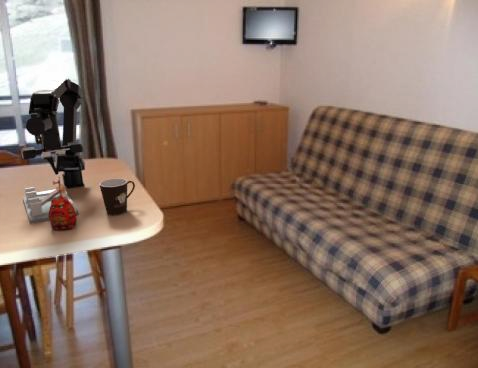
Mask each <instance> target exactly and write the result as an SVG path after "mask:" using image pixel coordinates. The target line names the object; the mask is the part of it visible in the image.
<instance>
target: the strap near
mask: <svg viewBox="0 0 478 368" xmlns="http://www.w3.org/2000/svg"><path fill="white" fill-rule="evenodd" d="M60 184H61V189H62V191H64V190H66V189H67V188H66V186H64V184H63V183H60ZM55 189H56V190H55ZM55 189H53V190H54V191H53V192H52V193H50V194H49V195H47V196H46V197H45V198H43V199H42V200H41V201H39V202H41V206H43V205H44V204H45V203H47V202H48V201H50V200H51V199H52V198H54V197H55V196H56V195H58V194H59V193H60V191H59V185H58V186H56V187H55ZM62 191H61V192H62Z"/></svg>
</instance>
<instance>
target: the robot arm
mask: <svg viewBox="0 0 478 368" xmlns="http://www.w3.org/2000/svg"><path fill="white" fill-rule="evenodd" d="M83 98H84V92H83V89H82V88H81V87H80V85H79V84H77V83H75V82H74V81H71V79H70V78H67V77H56V78H54V79H53V81H52V82H51V83H50V84H49V85H48V86H47V87H45V89H40V90H36V91H34V92H32V94H31V96H30V101H29V108H28V115H29V116H30V118H29V119H27V121H26V124H25V128H26V131H27V132H28V133H29V134H30V135H31V136H34V142H35V145H36V146H41V148H35V147H34V146H29V147H22V148H21V149H20V150H21V151H20V152H21V156H22V159H23V160H32V159H35V158H36V157H37V156H39V155H40V157H41V158H42V160H47V163H49V165H50V167H51V169H52V171H53V172H54V174H55V175H59V173H63V174H62V175H61V178H62V182H63V183H62V184H63V185H64V186H65V188H66V189H72V188H78V187H84V186H85V183H84V180H83V178H84V177H83V173H82V172H83V171H85V170H86V164H85V161H84V160H83V158H82V156H81V153H83V152H84V146H83V144H81V143H80V142H79V141H77V123H78V122H77V119H78V118H77V117H78V116H77V115H78V114H77V113H78V109H79V108H80V106H81V105H82V103H83V102H82V101H83ZM60 104H61V106H62V107H63V116H62V117H63V118H62V119H63V123H62V142H61V135H60V130H59V129H60V128H59V121H58V117H57V115H58V108H59V105H60ZM52 154H54V158H53V156H52Z"/></svg>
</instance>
